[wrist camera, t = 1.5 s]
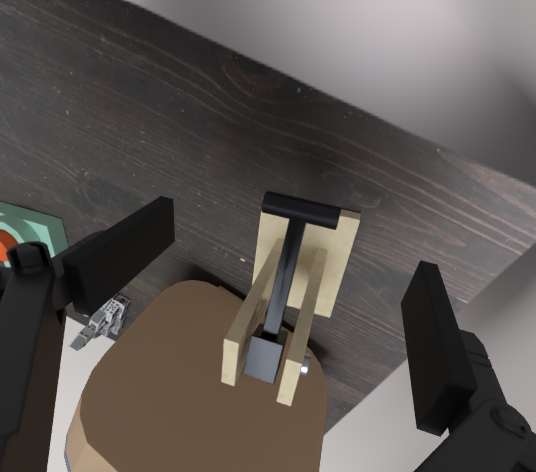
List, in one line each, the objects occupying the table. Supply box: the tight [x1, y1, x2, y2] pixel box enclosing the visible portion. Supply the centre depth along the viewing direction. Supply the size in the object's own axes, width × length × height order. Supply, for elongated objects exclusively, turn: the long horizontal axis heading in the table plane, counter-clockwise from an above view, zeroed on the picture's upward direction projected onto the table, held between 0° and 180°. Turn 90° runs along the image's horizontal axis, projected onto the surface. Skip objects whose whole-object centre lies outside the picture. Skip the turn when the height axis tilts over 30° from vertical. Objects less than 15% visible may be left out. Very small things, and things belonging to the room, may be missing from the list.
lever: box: [243, 192, 341, 384], centre depth 21 cm, size 12×5×2 cm, turn 173°
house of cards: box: [69, 293, 130, 351], centre depth 42 cm, size 9×9×8 cm
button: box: [0, 230, 19, 261], centre depth 39 cm, size 4×4×2 cm
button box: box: [0, 202, 69, 267], centre depth 42 cm, size 12×10×4 cm
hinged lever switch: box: [221, 200, 361, 406], centre depth 26 cm, size 12×9×15 cm
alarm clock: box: [64, 280, 328, 472], centre depth 31 cm, size 21×10×22 cm, turn 60°
